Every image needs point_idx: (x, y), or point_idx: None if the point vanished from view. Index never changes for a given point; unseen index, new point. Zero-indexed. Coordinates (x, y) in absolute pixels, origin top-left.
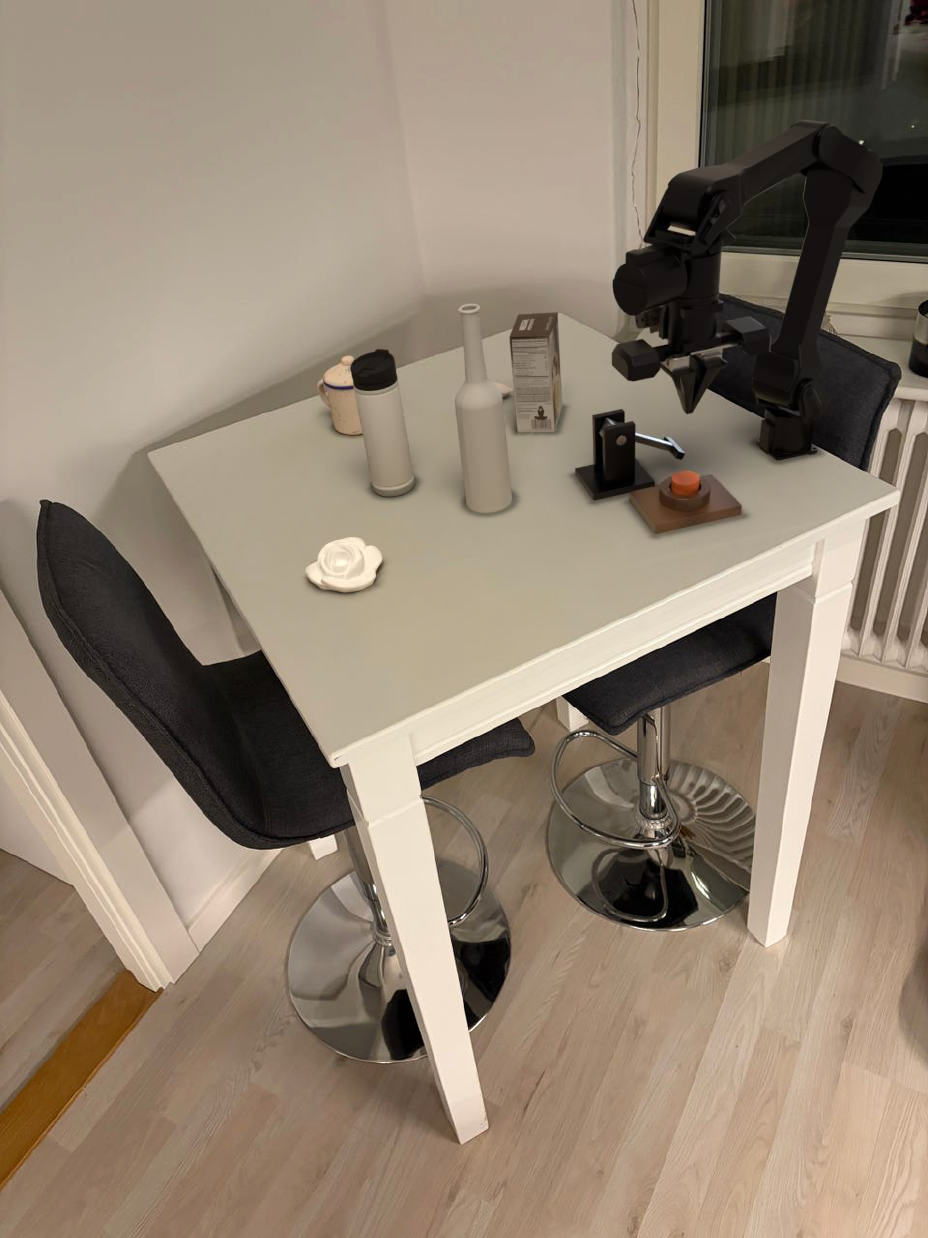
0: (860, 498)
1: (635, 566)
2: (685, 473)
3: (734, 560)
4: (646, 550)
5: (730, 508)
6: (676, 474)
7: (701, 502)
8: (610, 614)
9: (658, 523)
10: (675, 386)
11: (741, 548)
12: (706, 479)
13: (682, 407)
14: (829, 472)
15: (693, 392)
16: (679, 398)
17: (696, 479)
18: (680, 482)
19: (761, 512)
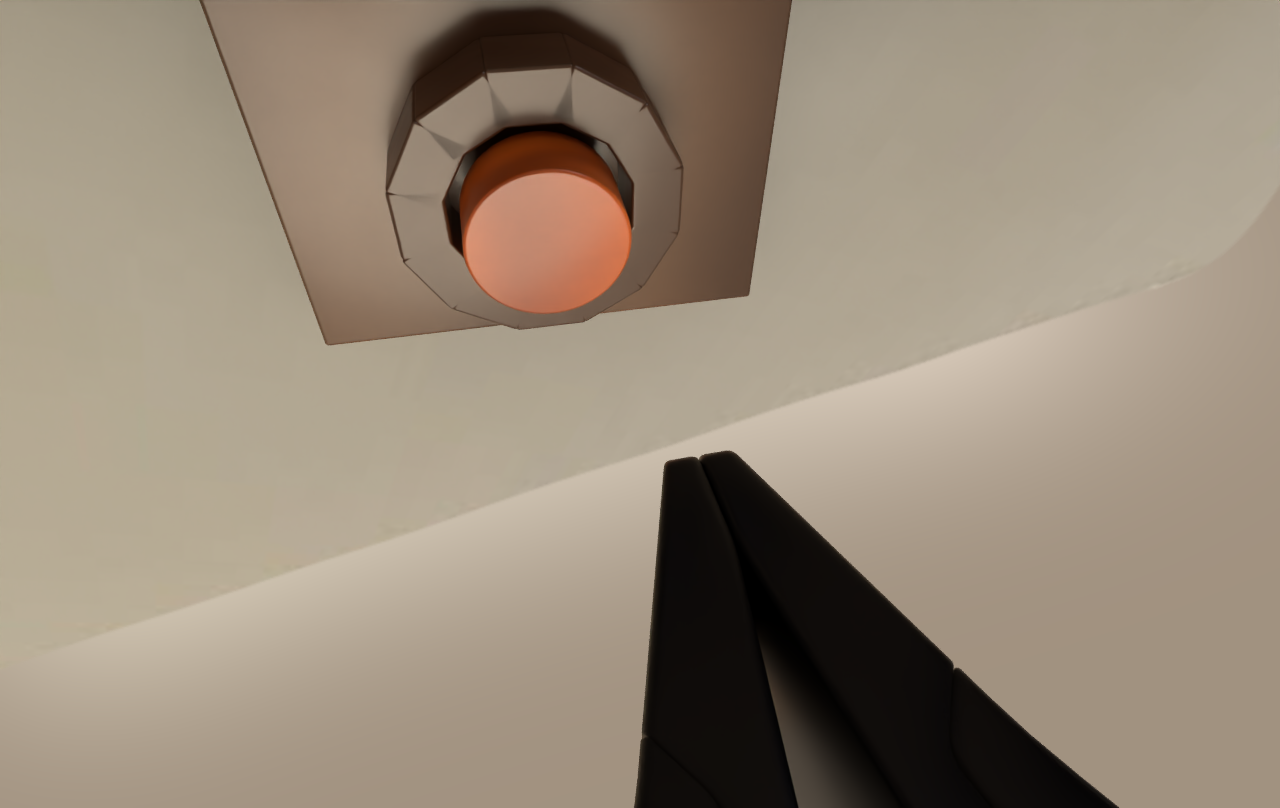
0: (1150, 262)
1: (221, 454)
2: (567, 203)
3: (578, 467)
4: (277, 383)
5: (696, 299)
6: (507, 200)
7: None
8: (127, 611)
9: (342, 339)
10: (638, 768)
11: (629, 424)
12: (732, 18)
13: (661, 499)
14: (1273, 48)
15: (787, 753)
16: (654, 589)
17: (600, 280)
18: (502, 284)
19: (817, 257)
